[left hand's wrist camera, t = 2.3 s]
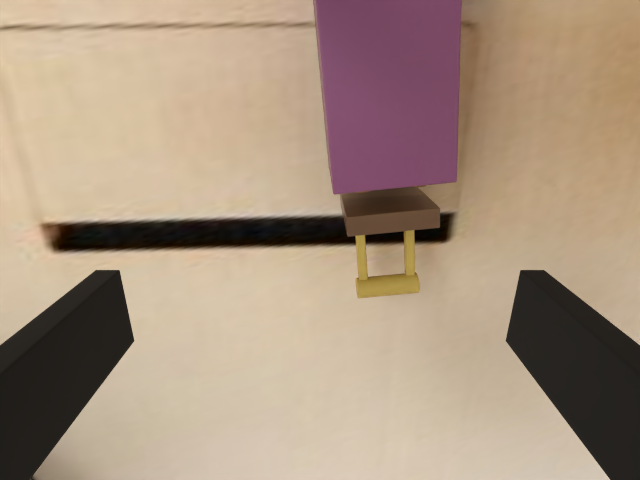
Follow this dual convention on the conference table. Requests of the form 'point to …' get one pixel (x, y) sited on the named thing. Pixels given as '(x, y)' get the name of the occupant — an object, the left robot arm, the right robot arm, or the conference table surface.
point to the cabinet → (389, 91)
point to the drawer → (384, 217)
